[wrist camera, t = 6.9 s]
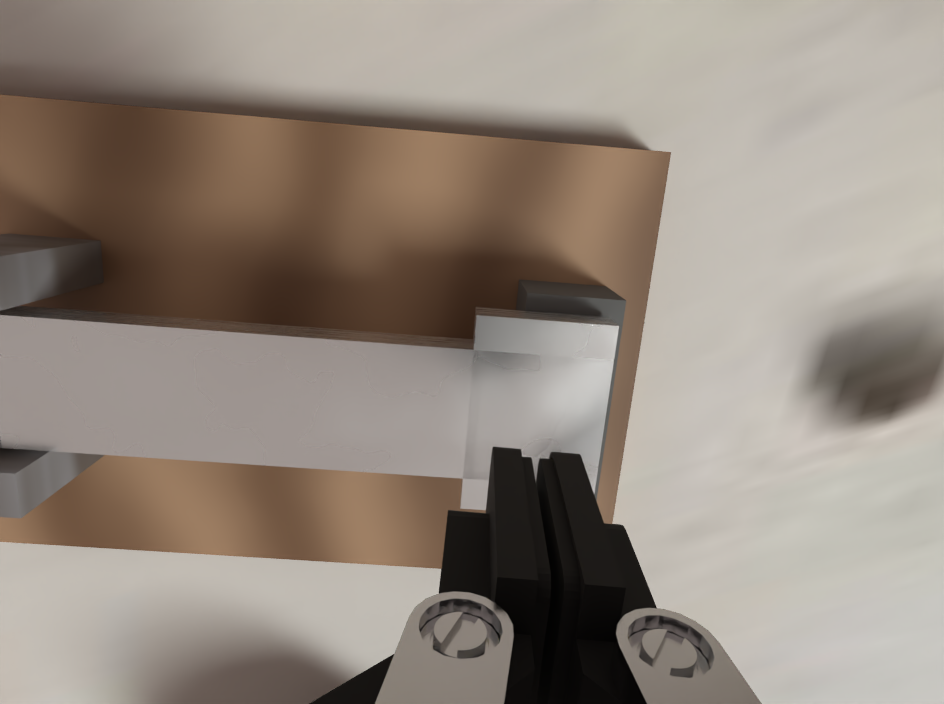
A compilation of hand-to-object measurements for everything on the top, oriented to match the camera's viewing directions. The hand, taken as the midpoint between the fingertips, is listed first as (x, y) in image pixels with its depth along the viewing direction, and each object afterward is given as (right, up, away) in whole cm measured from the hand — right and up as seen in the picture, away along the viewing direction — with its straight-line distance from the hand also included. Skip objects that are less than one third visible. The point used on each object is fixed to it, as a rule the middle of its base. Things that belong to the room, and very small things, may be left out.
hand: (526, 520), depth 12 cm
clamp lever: (-7, +2, +7) cm, 10 cm away
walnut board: (-7, +3, +11) cm, 14 cm away
